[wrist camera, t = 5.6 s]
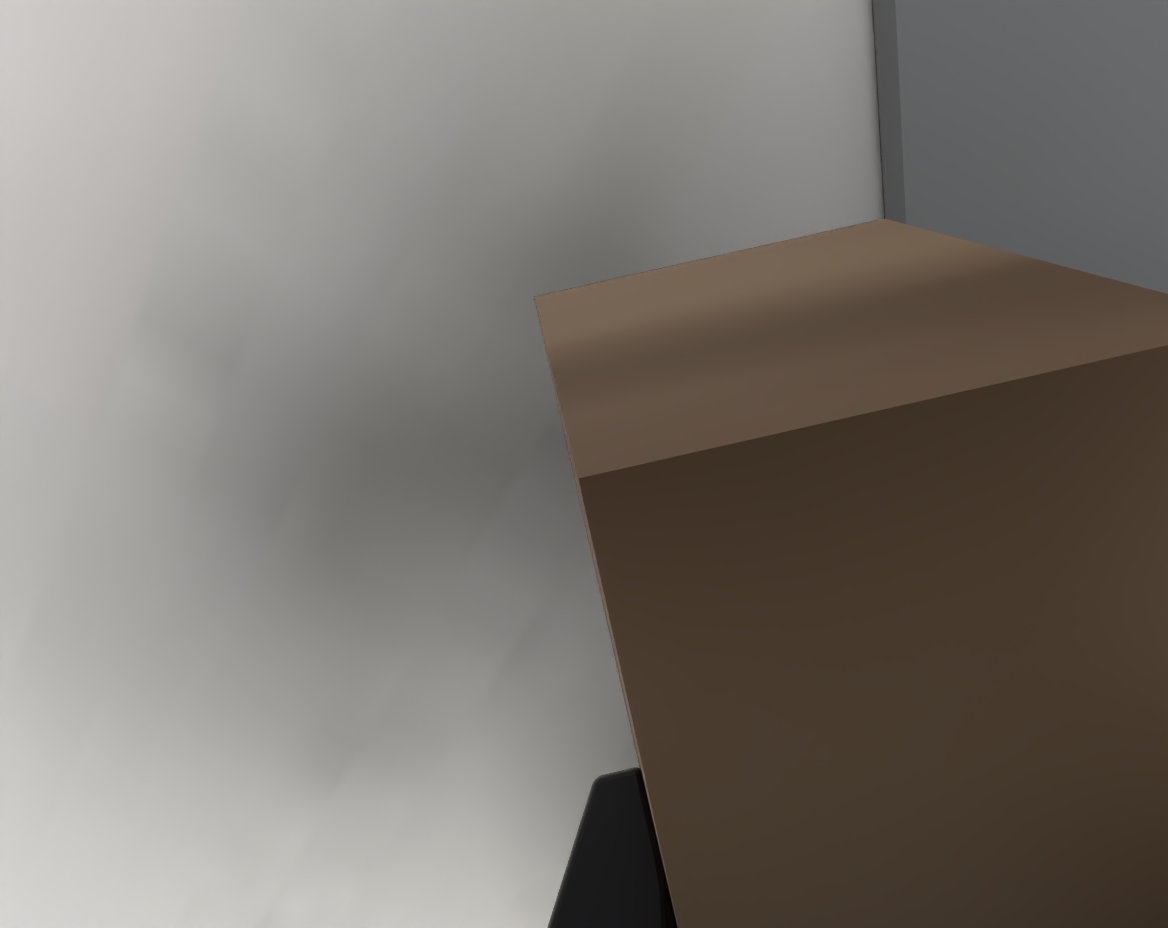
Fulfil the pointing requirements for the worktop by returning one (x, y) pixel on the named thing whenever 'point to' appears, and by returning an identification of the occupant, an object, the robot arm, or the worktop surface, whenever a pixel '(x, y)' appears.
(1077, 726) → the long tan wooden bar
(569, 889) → the robot arm
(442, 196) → the worktop surface
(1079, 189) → the tool mat
